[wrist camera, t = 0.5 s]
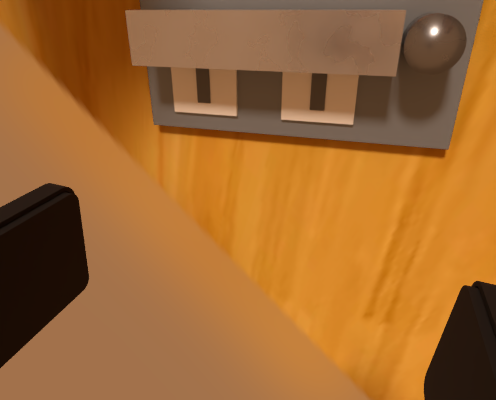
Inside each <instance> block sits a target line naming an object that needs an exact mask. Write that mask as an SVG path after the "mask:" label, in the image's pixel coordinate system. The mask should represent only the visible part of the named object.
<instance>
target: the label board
mask: <svg viewBox="0 0 496 400" xmlns="http://www.w3.org/2000/svg"><path fill="white" fill-rule="evenodd" d="M482 4H483V0H140V7H141V10H142V9H404V10H406V15H405V21H404V28H403V33H404V31H405V29H406V27H407V26H408V25H409V24H410V23H411V22H412V21H413V20H414V19H415V18H417V17H418V16H420V15H423V14H426V13H432V12H435V13H441V14H446V15H450V16H453V17H454V18H456V19H457V20H459V21H460V23H461V24H462V25H463V27H464V29H465V32H466V37H467V42H466V47H465V51H464V53H463V55H462V57H461V58H460V60H459V61H458V62H457V63H456V64H455V65H454V66H453V67H452V68H450V69H449V70H447V71H445V72H443V73H440V74H435V75H425V74H421V73H418V72H416V71H415V70H413V69H412V68H411V67H410V66H409V65H408V63H407V61H406V59H405V57H404V54H403V52H402V48H401V47H400V53H399V59H398V66H397V72H396V77H395V76H371V75H347V74H323V73H299V72H275V71H251V70H227V69H203V68H179V67H155V66H147V69H148V77H149V86H150V95H151V104H152V113H153V121H154V125H164V126H176V127H187V128H199V129H211V130H223V131H235V132H247V133H258V134H270V135H282V136H294V137H306V138H318V139H330V140H341V141H353V142H365V143H377V144H389V145H401V146H413V147H424V148H436V149H449V145H450V140H451V136H452V132H453V128H454V123H455V119H456V115H457V111H458V106H459V102H460V98H461V94H462V89H463V85H464V81H465V76H466V72H467V68H468V64H469V59H470V55H471V51H472V47H473V42H474V38H475V34H476V30H477V25H478V21H479V17H480V13H481V8H482ZM402 36H403V34H402Z"/></svg>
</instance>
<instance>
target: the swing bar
mask: <svg viewBox="0 0 496 400" xmlns="http://www.w3.org/2000/svg"><path fill="white" fill-rule="evenodd" d="M125 14H126V22H127V30H128V38H129V45H130V53H131V61H132V66H155V67H179V68H203V69H227V70H251V71H275V72H299V73H323V74H347V75H371V76H395V77H396V72H397V66H398V59H399V53H400V47H401V48H402V52H403V54H404V57H405V59H406V61H407V63H408V65H409V66H410V67H411V68H412V69H413V70H415V71H416V72H418V73H421V74H425V75H435V74H440V73H443V72H445V71H447V70H449V69H450V68H452V67H453V66H454V65H455V64H456V63H457V62H458V61H459V60H460V58H461V57H462V55H463V53H464V51H465V47H466V42H467V37H466V32H465V29H464V27H463V25H462V24H461V23H460V21H459V20H457V19H456V18H454V17H453V16H450V15H446V14H441V13H435V12H432V13H426V14H423V15H420V16H418V17H417V18H415V19H414V20H413V21H412V22H411V23H410V24H409V25H408V26H407V27H406V29H405V31H404V33H403V28H404V21H405V15H406V10H404V9H142V10H125ZM402 34H403V36H402Z"/></svg>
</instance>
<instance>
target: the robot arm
mask: <svg viewBox="0 0 496 400" xmlns="http://www.w3.org/2000/svg"><path fill="white" fill-rule="evenodd" d="M88 280H89V274H88V266H87V259H86V251H85V244H84V236H83V229H82V222H81V214H80V207H79V200H78V197H77V196H76V195H75V194H74V191H73V190H72V189H71V188H69V187H65V186H61V185H56V184H51V183H48V184H45V185H43V186H41V187H39V188H37V189H35V190H33V191H31V192H29V193H27V194H25V195H23V196H21V197H20V198H17V199H16V200H14V201H12V202H10V203H8V204H6V205H4V206H2V207H0V368H1V367H2V366H3V365H4V364H5V363H6V362H7V361H8V360H9V359H11V358H12V357H13V356H14V355H15V354H16V353H17V352H18V351H19V350H20V349H21V348H22V347H23V346H24V345H26V343H28V342H29V341H30V340H31V339H32V338H33V337H34V336H35V335H36V334H37V333H38V332H39V331H41V329H42V328H44V327H45V326H46V325H47V324H48V323H49V322H50V321H51V320H52V319H53V318H54V317H55V316H57V315H58V313H60V312H61V311H62V310H63V309H64V308H65V307H66V306H67V305H68V304H69V303H70V302H71V301H73V300H74V299H75V298H76V297H77V296H78V295H79V294H80V293H81V292H82V291H83V290H84V289H85V288H86V286H87V284H88ZM424 396H425V400H496V285H493V284H489V283H484V282H480V281H476V282H474V283H473V285H472V286H466V285H464V286H463V287H462V288H461V290H460V293H459V295H458V297H457V300H456V302H455V305H454V307H453V310H452V312H451V314H450V317H449V319H448V322H447V324H446V327H445V329H444V331H443V334H442V336H441V339H440V341H439V344H438V346H437V348H436V351H435V353H434V356H433V358H432V361H431V363H430V365H429V368H428V370H427V373H426V376H425V381H424Z"/></svg>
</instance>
